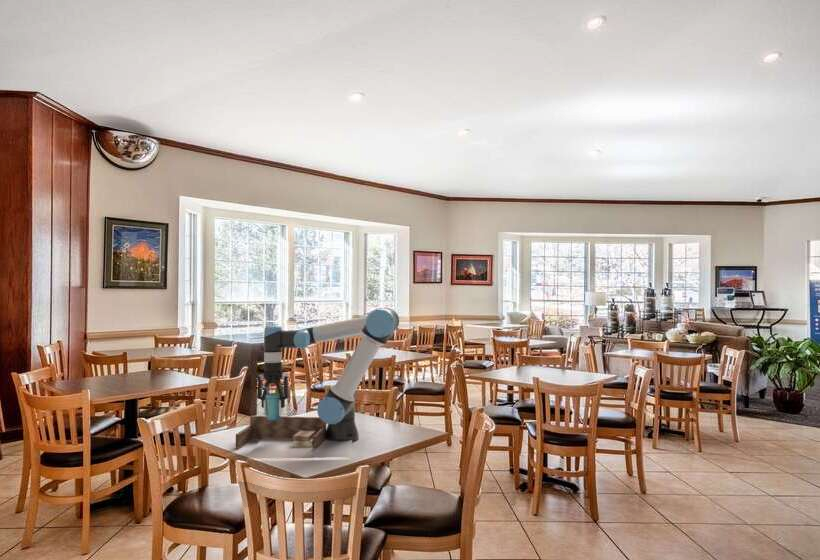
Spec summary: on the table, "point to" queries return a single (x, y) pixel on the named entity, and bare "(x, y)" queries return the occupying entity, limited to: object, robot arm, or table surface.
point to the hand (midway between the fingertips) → (273, 415)
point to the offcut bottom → (300, 446)
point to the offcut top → (304, 435)
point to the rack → (281, 429)
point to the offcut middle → (303, 443)
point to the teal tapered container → (272, 404)
